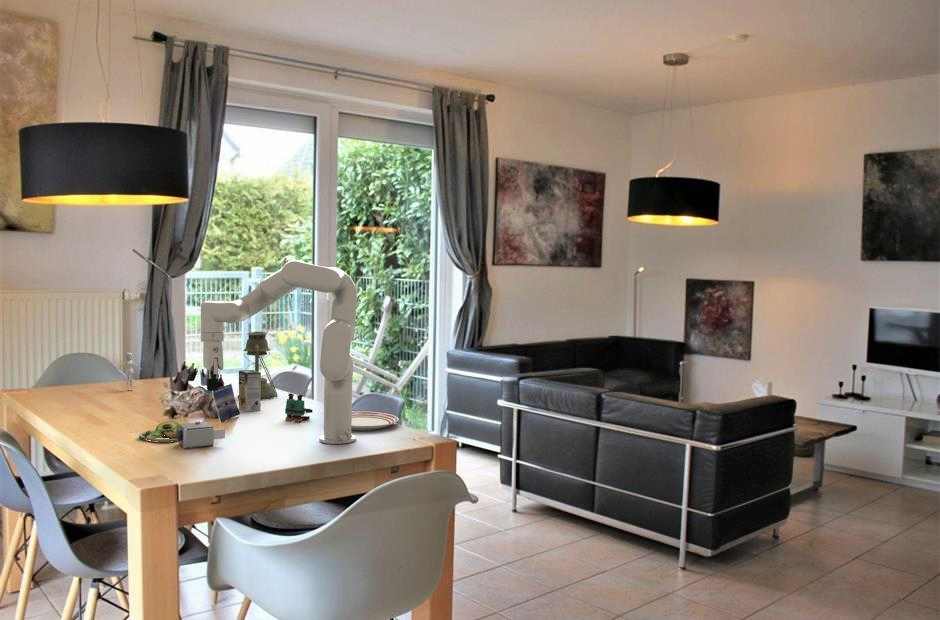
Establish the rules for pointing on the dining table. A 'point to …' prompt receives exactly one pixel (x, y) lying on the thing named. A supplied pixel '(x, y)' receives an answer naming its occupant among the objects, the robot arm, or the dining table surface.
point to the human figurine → (129, 368)
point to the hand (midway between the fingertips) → (212, 389)
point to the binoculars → (296, 409)
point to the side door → (202, 436)
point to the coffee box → (249, 390)
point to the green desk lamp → (259, 347)
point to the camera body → (191, 427)
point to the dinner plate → (371, 420)
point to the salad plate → (162, 432)
